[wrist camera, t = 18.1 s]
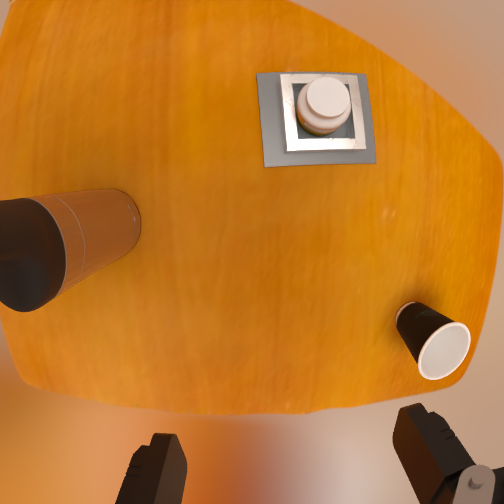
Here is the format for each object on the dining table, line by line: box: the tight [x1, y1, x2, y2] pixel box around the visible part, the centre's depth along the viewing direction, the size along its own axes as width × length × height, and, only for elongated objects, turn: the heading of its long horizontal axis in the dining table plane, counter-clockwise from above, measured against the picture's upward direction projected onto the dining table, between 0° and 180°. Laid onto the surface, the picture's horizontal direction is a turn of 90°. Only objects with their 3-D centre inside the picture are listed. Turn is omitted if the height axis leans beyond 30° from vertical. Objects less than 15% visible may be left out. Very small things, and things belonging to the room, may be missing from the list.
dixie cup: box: [396, 302, 470, 380], centre depth 34 cm, size 8×8×11 cm
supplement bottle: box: [296, 77, 351, 137], centre depth 29 cm, size 5×5×10 cm
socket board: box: [256, 72, 376, 167], centre depth 33 cm, size 14×12×4 cm
